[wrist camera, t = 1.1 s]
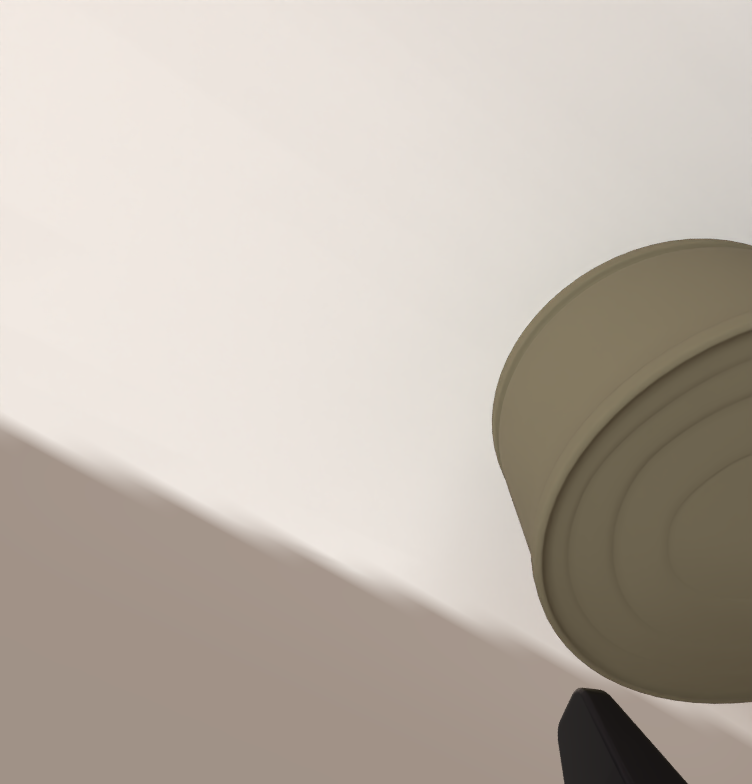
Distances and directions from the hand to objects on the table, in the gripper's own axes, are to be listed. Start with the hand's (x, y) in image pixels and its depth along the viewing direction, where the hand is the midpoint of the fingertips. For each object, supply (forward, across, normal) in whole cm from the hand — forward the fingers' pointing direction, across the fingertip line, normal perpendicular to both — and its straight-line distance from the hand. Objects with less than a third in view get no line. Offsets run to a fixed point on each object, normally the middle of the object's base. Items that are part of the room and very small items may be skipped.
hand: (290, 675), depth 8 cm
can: (+12, -11, 0) cm, 17 cm away
